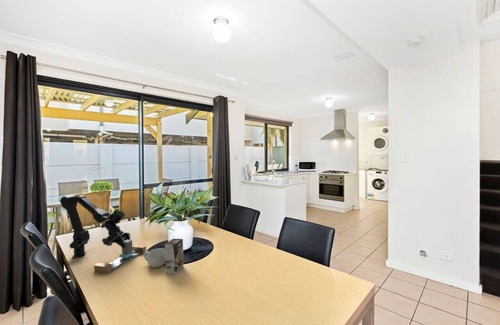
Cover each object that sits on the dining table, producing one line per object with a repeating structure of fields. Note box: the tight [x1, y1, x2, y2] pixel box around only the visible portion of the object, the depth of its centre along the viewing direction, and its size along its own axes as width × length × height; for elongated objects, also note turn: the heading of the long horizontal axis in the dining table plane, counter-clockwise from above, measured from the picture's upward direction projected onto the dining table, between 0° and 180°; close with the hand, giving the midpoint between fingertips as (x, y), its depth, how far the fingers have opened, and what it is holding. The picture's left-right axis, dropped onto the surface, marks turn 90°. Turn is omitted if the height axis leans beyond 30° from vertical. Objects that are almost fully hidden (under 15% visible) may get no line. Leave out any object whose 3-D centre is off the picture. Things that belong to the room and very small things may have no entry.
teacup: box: [143, 247, 165, 269], centre depth 139 cm, size 14×11×8 cm
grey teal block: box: [119, 239, 135, 258], centre depth 148 cm, size 7×5×9 cm
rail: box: [93, 244, 147, 275], centre depth 144 cm, size 30×9×4 cm, turn 164°
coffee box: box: [164, 238, 184, 275], centre depth 132 cm, size 9×6×16 cm
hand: (127, 247), depth 148 cm, fingers open, 9 cm apart
